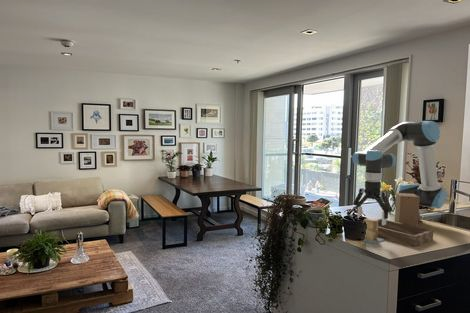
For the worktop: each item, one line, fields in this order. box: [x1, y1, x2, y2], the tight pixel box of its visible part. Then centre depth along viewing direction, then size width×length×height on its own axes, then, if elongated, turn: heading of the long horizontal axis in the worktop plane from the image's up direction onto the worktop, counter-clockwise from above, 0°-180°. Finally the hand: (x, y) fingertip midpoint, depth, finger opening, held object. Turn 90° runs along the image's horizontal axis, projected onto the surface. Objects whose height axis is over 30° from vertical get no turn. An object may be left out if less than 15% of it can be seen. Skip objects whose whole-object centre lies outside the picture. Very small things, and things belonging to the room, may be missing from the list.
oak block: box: [363, 217, 378, 241], centre depth 173 cm, size 5×5×10 cm
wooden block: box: [394, 192, 420, 227], centre depth 194 cm, size 10×10×20 cm
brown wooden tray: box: [376, 218, 434, 248], centre depth 181 cm, size 19×29×5 cm, turn 36°
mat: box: [362, 237, 385, 245], centre depth 174 cm, size 10×10×1 cm
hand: (371, 221), depth 173 cm, fingers open, 13 cm apart
